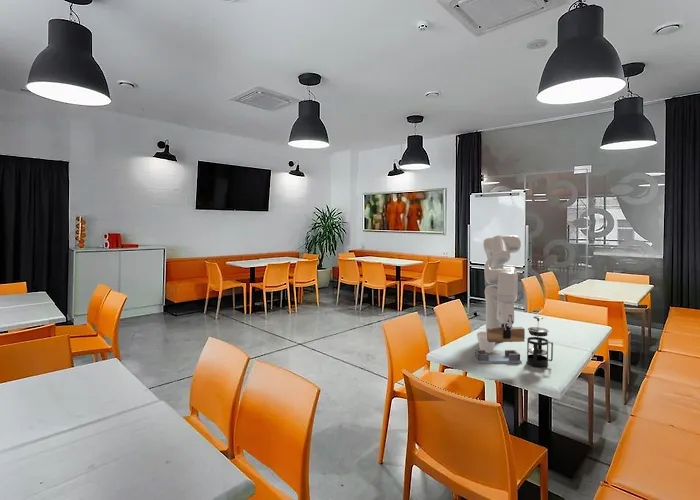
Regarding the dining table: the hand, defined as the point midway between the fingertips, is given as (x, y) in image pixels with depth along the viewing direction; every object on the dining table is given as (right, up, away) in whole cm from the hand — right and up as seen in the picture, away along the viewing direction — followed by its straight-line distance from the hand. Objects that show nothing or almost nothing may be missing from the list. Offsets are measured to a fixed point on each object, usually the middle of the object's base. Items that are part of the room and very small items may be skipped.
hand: (505, 336), depth 179 cm
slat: (0, -2, 0) cm, 2 cm away
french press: (+18, -15, +6) cm, 24 cm away
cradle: (+1, -14, +12) cm, 19 cm away
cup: (0, -13, +25) cm, 29 cm away
